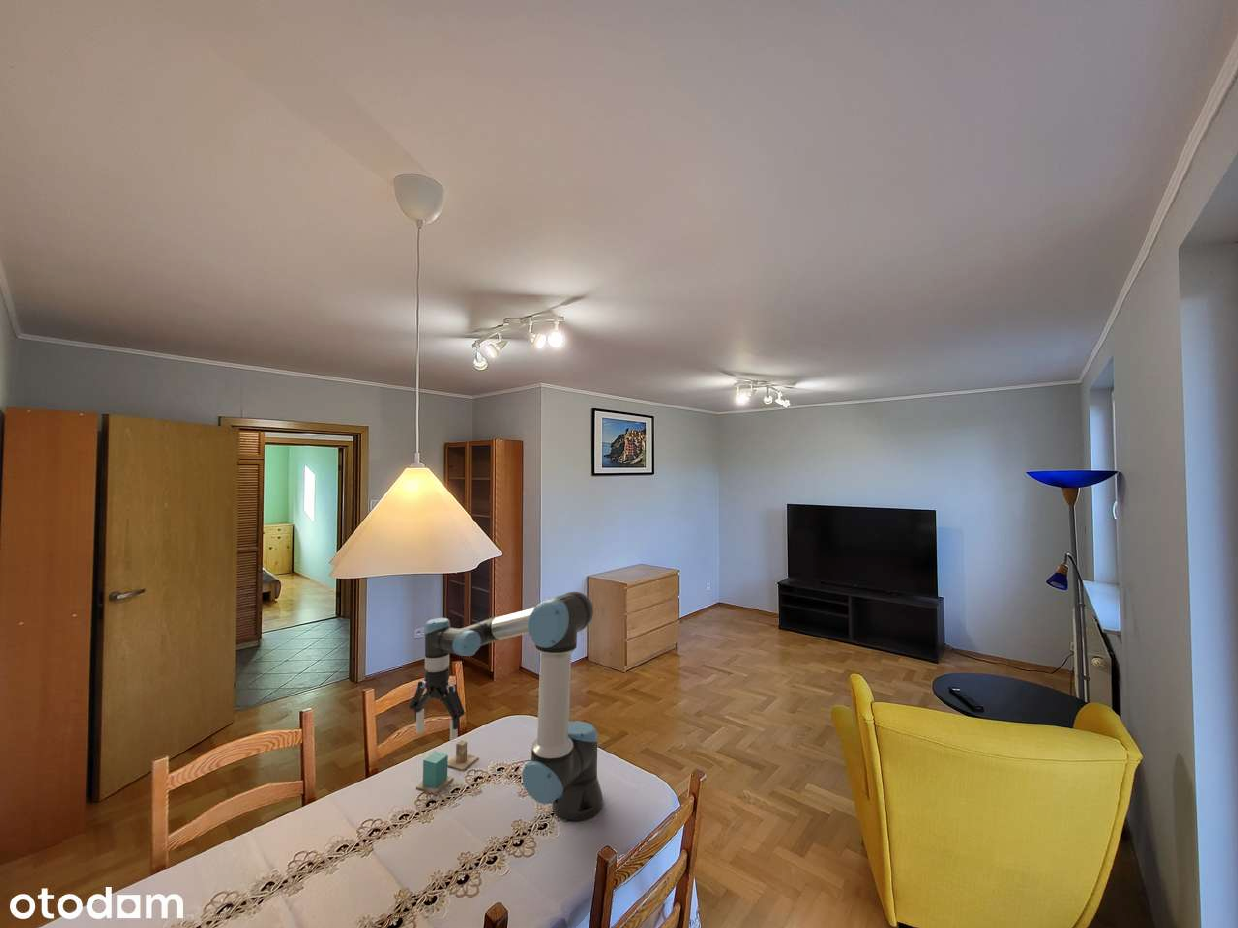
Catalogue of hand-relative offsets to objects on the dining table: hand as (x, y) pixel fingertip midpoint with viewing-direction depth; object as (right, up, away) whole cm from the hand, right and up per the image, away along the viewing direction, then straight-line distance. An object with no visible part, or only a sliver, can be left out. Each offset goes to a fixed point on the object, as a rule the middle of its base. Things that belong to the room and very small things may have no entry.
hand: (436, 734), depth 155 cm
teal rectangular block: (0, -15, 0) cm, 15 cm away
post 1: (0, -16, -1) cm, 16 cm away
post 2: (+4, -16, +12) cm, 20 cm away
